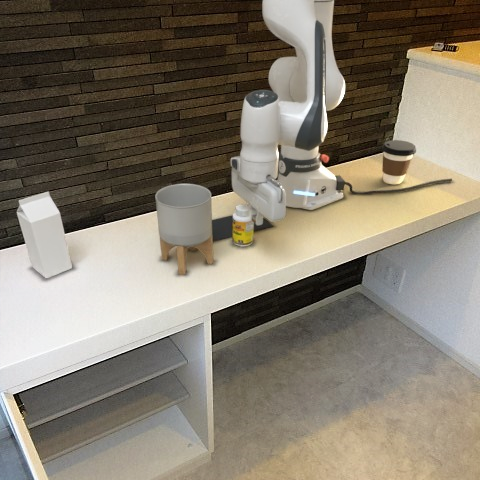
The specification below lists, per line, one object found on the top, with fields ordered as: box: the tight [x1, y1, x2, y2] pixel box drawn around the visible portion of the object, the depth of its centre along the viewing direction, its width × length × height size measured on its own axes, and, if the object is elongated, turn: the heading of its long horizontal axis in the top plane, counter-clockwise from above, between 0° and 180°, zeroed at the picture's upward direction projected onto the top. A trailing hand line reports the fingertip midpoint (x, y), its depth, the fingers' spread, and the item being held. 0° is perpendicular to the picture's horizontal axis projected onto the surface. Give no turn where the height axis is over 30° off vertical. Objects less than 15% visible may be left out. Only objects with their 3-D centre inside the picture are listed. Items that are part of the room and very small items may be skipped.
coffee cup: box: [381, 139, 417, 185], centre depth 165 cm, size 11×11×12 cm
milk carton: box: [16, 191, 73, 280], centre depth 117 cm, size 7×7×19 cm
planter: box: [154, 183, 214, 275], centre depth 121 cm, size 13×13×18 cm
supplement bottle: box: [231, 203, 254, 247], centre depth 131 cm, size 6×6×10 cm
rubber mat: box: [212, 214, 274, 242], centre depth 142 cm, size 20×11×1 cm, turn 118°
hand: (256, 222), depth 124 cm, fingers closed
